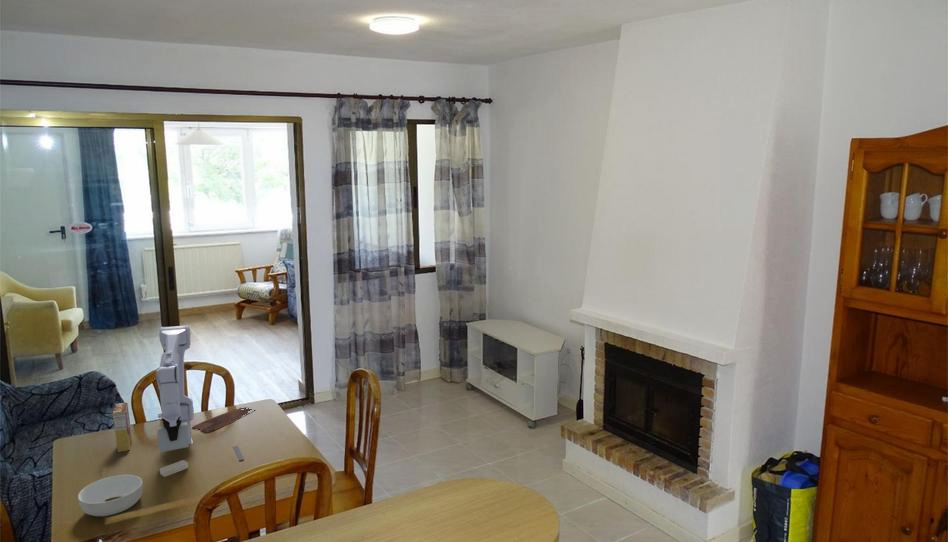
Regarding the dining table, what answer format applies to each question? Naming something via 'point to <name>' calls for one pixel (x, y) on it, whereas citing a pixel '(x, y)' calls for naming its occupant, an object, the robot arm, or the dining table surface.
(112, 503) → the cereal bowl
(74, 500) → the dining table surface
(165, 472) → the upper offcut
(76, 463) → the dining table surface
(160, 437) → the pale grey rectangular block
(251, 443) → the dining table surface
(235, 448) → the grey mat
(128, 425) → the candy box
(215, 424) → the wooden tablet
